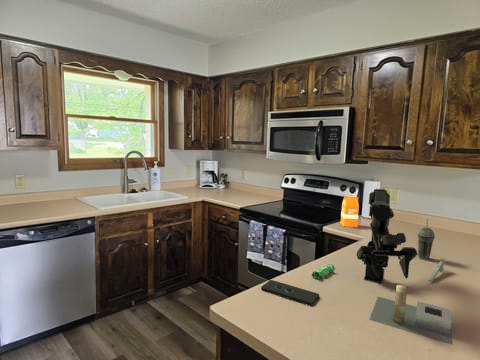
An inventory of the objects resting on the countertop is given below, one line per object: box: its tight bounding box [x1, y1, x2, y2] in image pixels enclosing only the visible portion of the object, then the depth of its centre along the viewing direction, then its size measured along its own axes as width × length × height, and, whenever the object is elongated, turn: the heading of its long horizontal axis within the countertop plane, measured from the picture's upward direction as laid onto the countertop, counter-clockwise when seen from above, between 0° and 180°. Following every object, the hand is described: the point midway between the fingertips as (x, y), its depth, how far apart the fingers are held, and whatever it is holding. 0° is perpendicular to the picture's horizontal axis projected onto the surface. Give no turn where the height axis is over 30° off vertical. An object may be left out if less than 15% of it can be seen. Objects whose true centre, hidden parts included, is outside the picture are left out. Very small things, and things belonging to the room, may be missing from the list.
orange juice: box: [340, 196, 360, 228], centre depth 212 cm, size 8×9×20 cm
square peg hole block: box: [415, 300, 452, 336], centre depth 99 cm, size 9×9×4 cm
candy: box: [311, 263, 336, 280], centre depth 133 cm, size 12×3×4 cm
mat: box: [369, 296, 453, 345], centre depth 102 cm, size 22×18×1 cm
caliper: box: [427, 257, 445, 285], centre depth 135 cm, size 20×1×6 cm, turn 135°
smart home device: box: [260, 279, 320, 307], centre depth 117 cm, size 8×2×20 cm
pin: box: [393, 284, 408, 324], centre depth 99 cm, size 3×3×12 cm
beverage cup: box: [417, 218, 436, 261], centre depth 155 cm, size 7×7×20 cm
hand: (392, 277), depth 104 cm, fingers open, 9 cm apart
